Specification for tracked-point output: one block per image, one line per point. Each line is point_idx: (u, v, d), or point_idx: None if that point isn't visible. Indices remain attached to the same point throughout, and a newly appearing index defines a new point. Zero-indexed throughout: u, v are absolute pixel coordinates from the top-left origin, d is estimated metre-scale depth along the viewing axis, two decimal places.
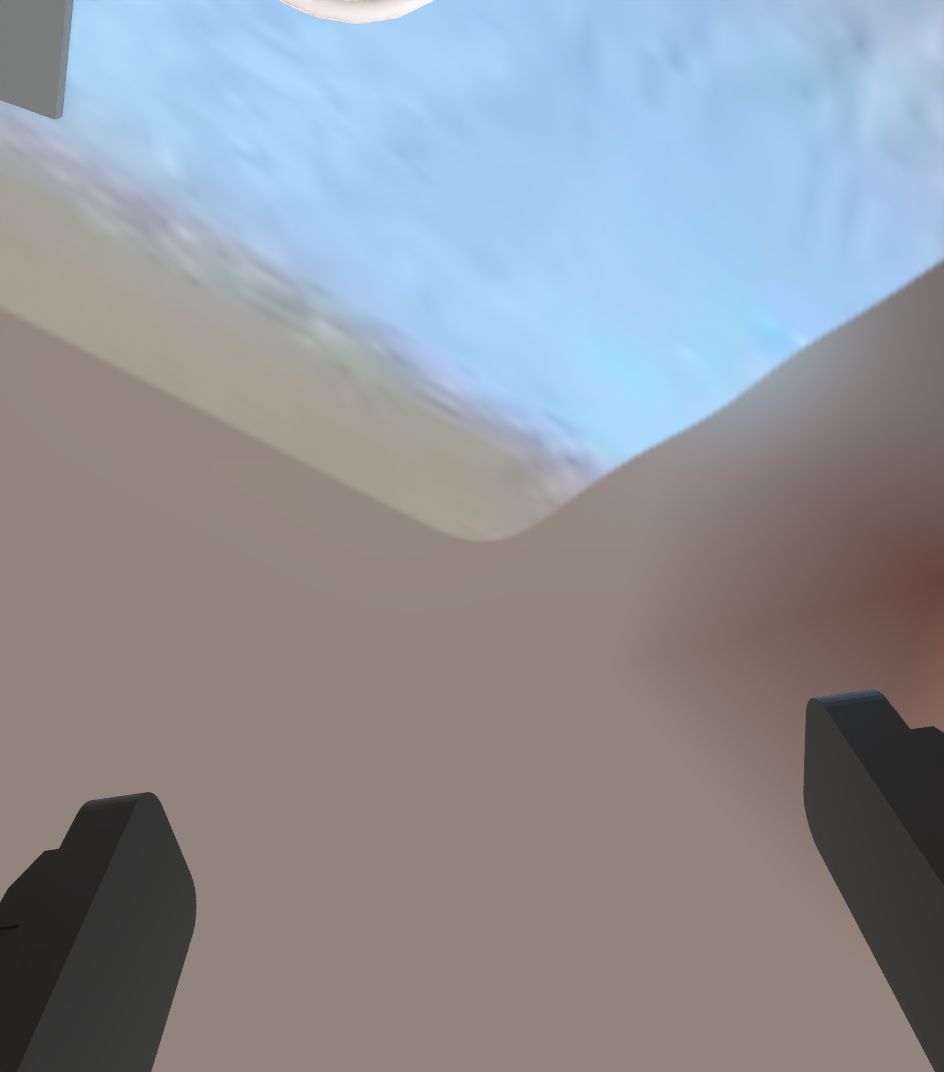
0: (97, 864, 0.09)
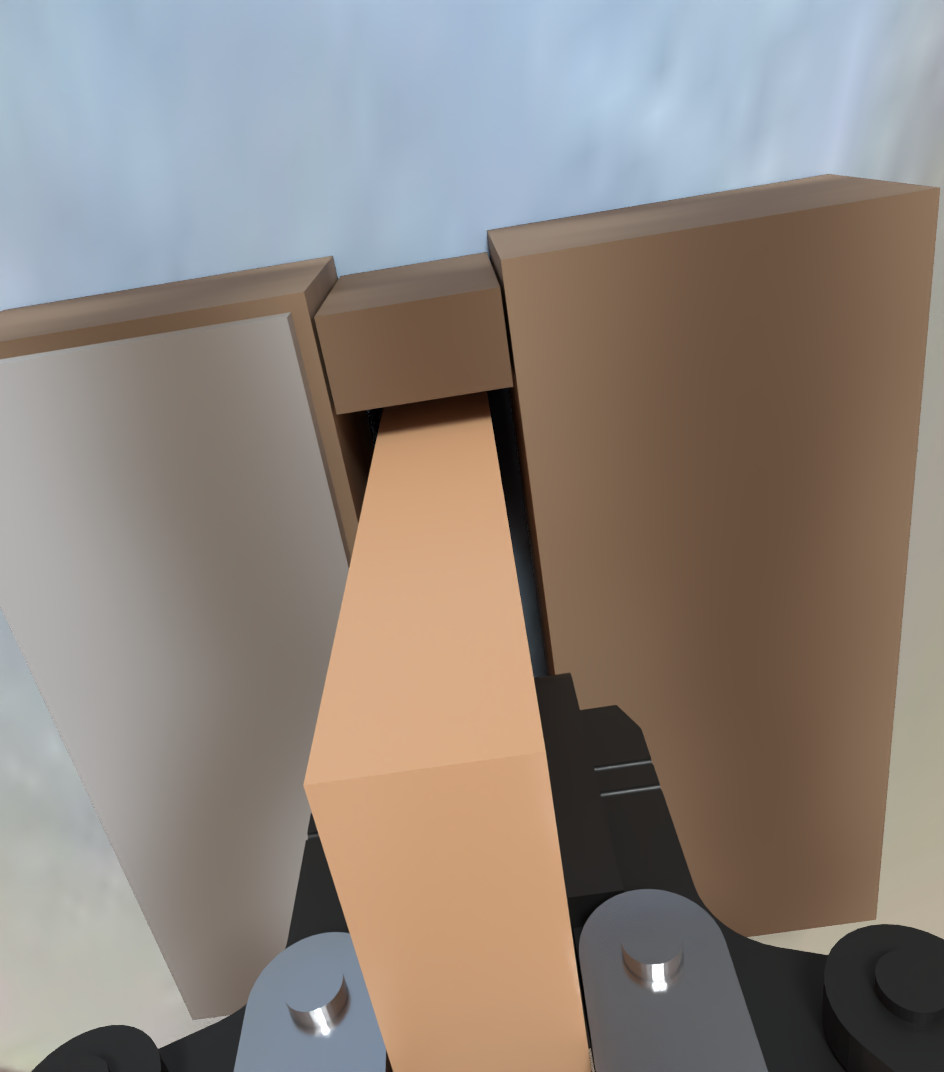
0: None
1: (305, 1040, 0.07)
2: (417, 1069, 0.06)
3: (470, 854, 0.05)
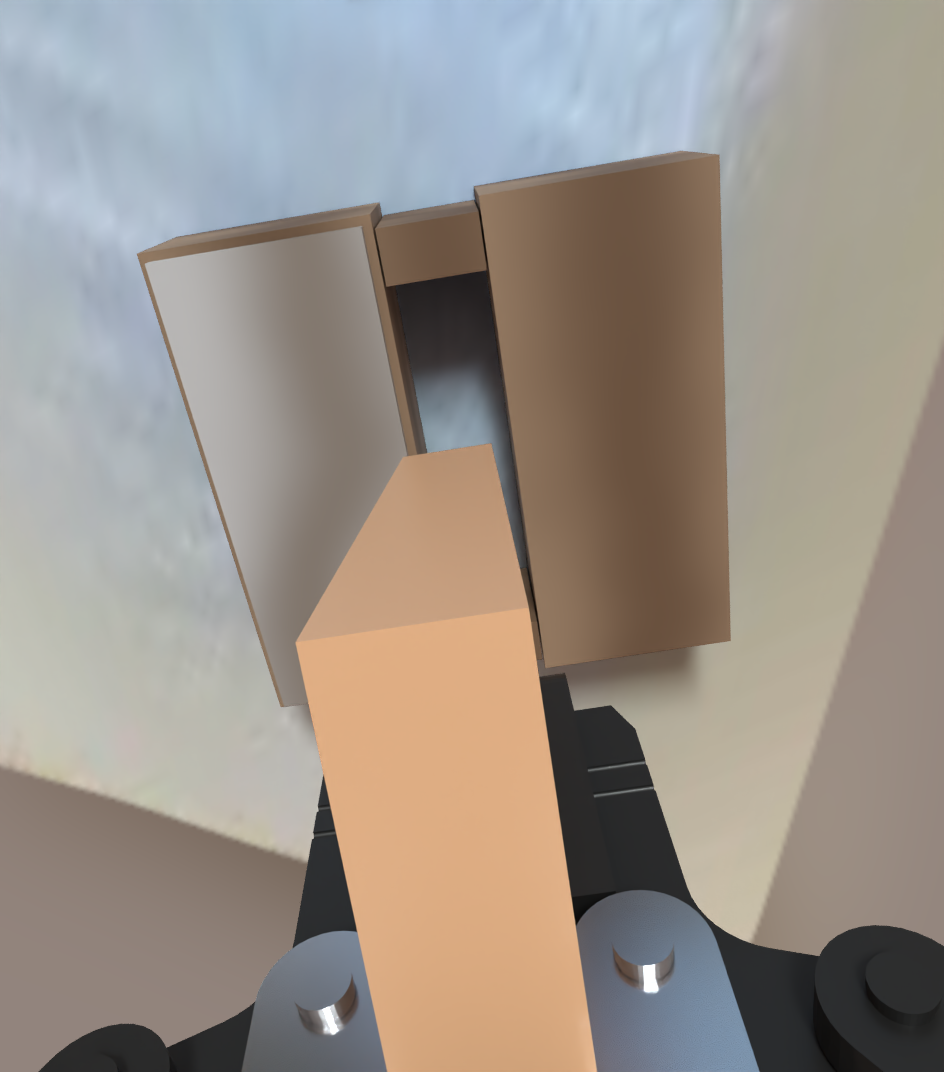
0: None
1: (314, 1038, 0.07)
2: (402, 1018, 0.06)
3: (458, 728, 0.06)
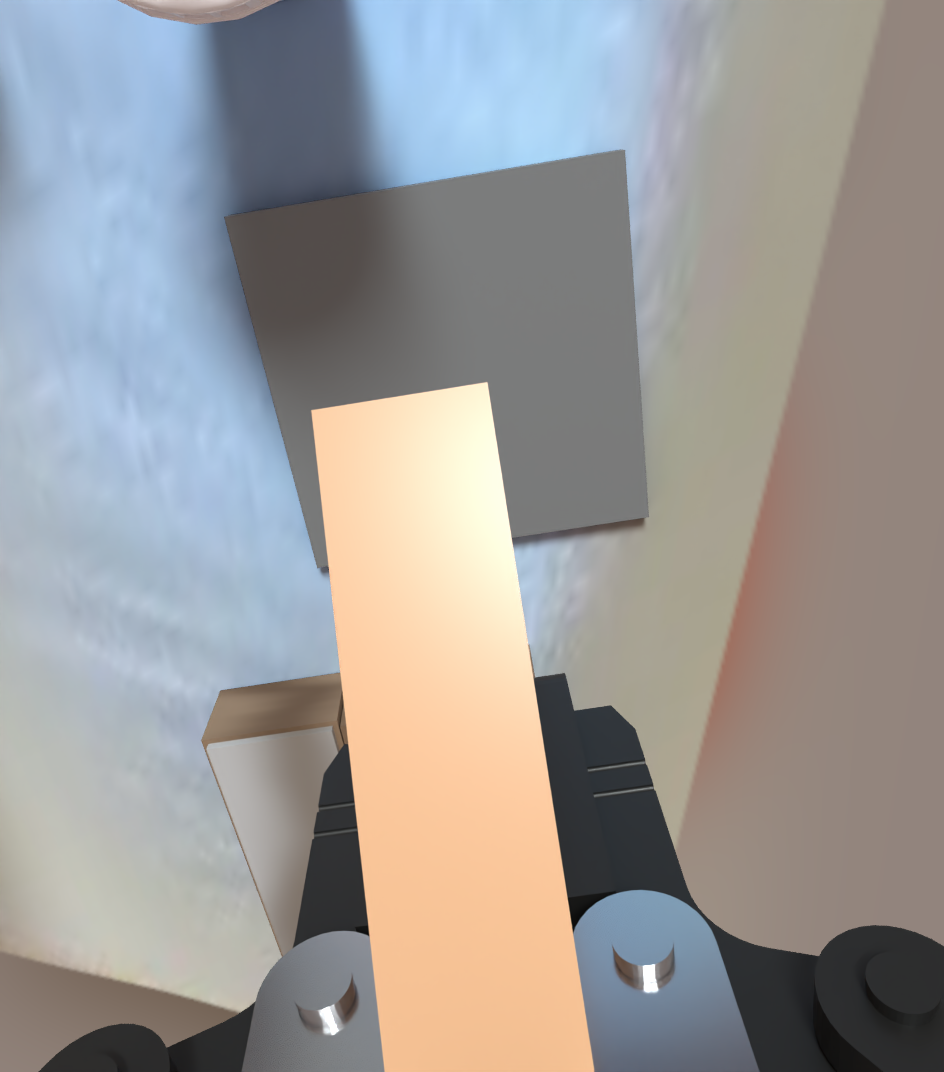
0: None
1: (314, 1039, 0.07)
2: (374, 755, 0.07)
3: (431, 478, 0.07)
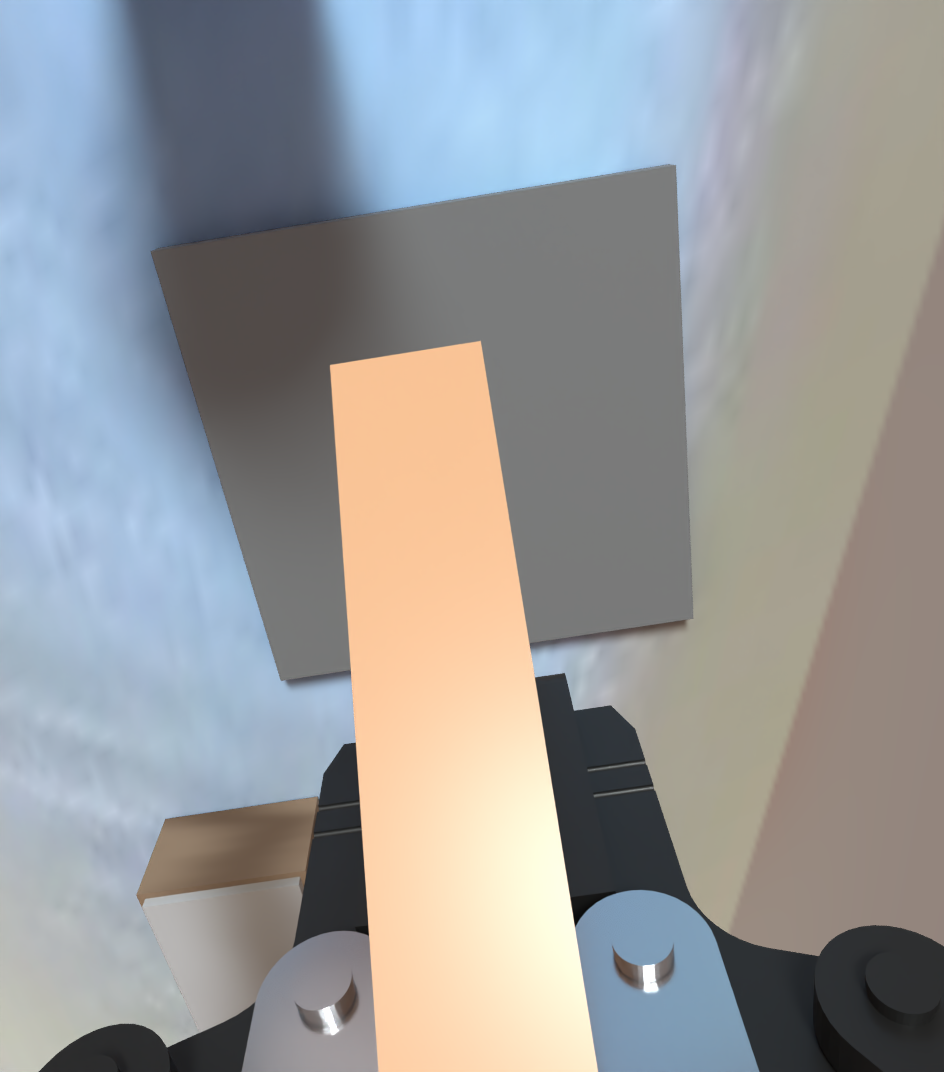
0: None
1: (314, 1039, 0.07)
2: (371, 640, 0.07)
3: (430, 414, 0.08)
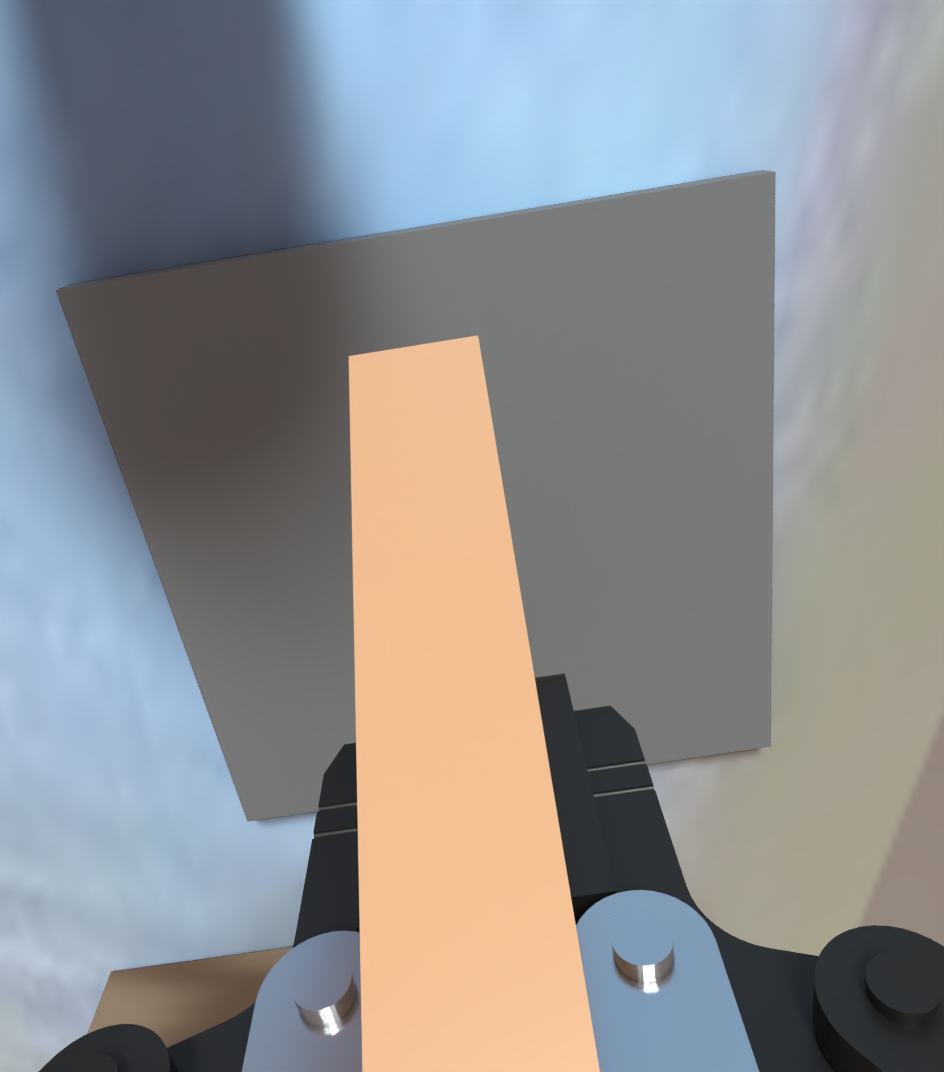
0: None
1: (314, 1039, 0.07)
2: (372, 553, 0.08)
3: (433, 388, 0.09)
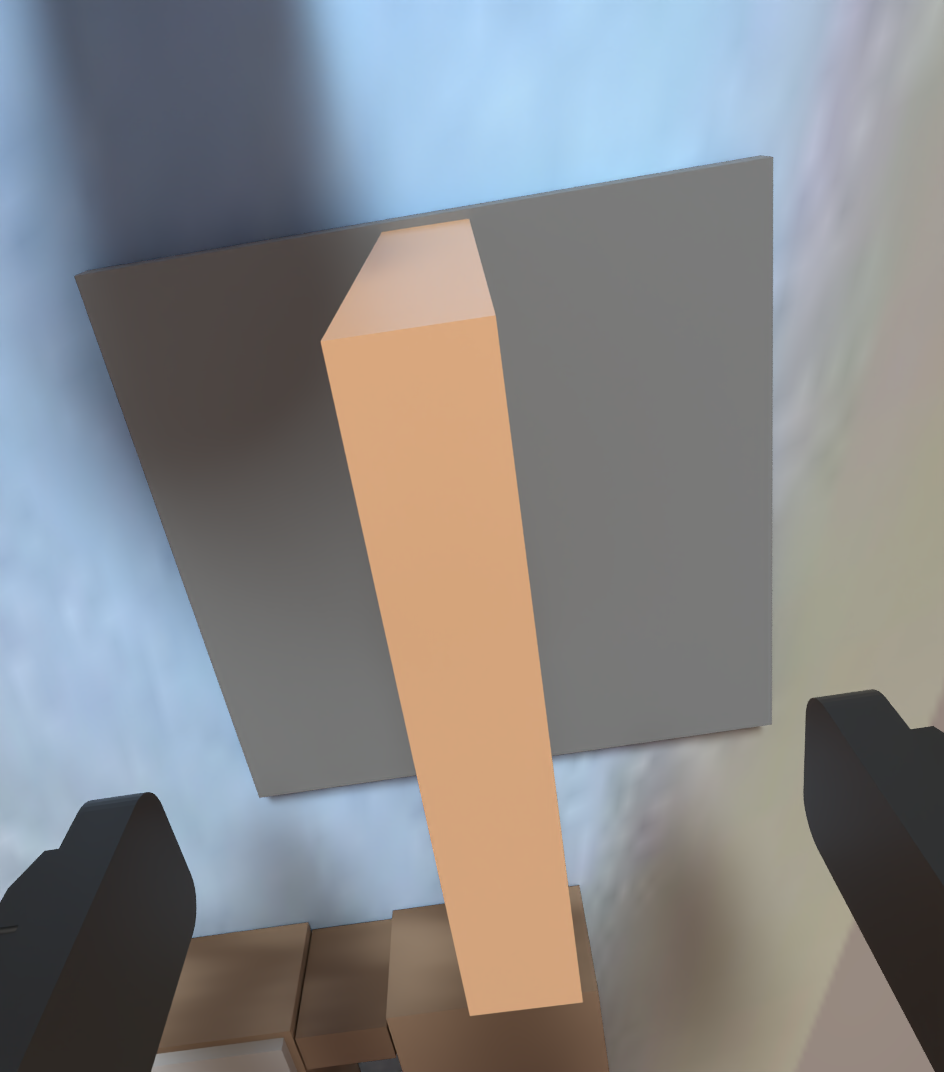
0: (97, 864, 0.09)
1: None
2: (381, 252, 0.12)
3: (434, 228, 0.14)
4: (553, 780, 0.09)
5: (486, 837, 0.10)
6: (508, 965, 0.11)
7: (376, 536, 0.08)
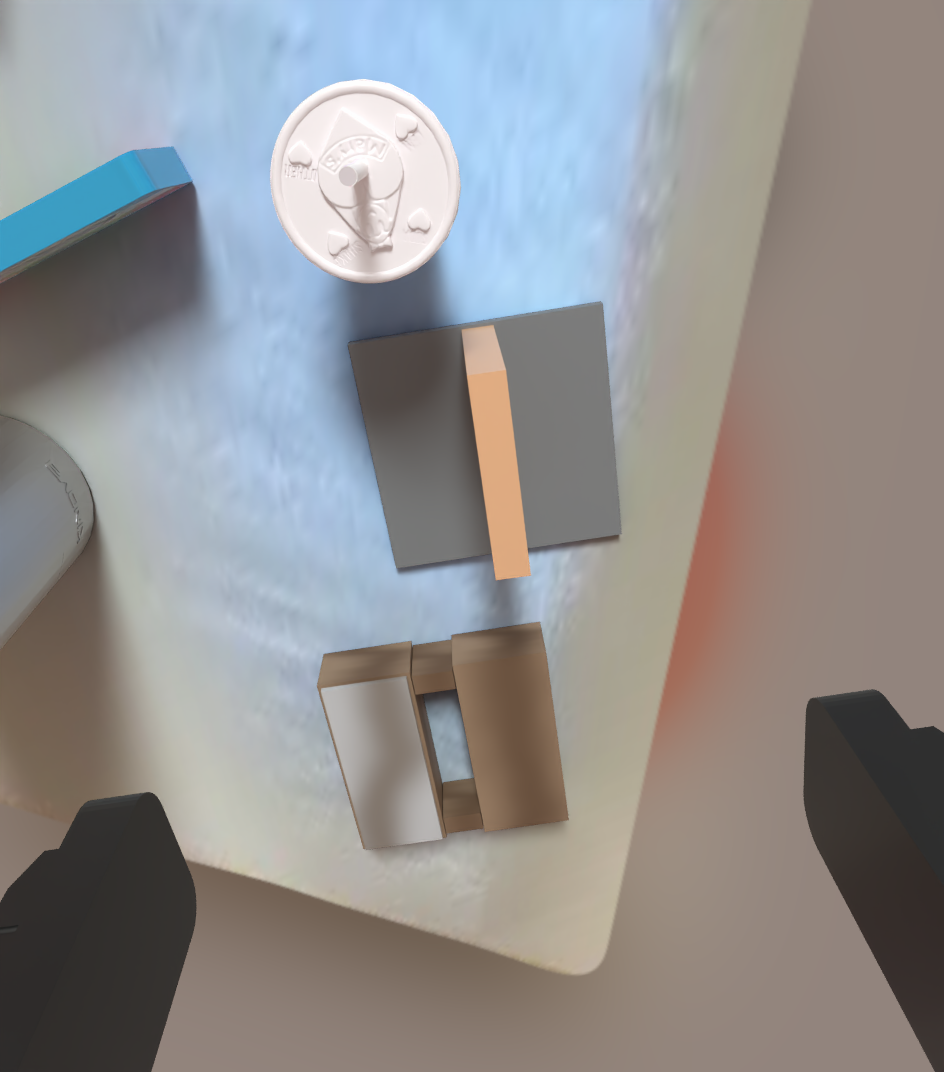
0: (97, 864, 0.09)
1: None
2: (467, 343, 0.37)
3: (481, 330, 0.38)
4: (520, 493, 0.34)
5: (502, 512, 0.35)
6: (507, 560, 0.36)
7: (476, 421, 0.33)
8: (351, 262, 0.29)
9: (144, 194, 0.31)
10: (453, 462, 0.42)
